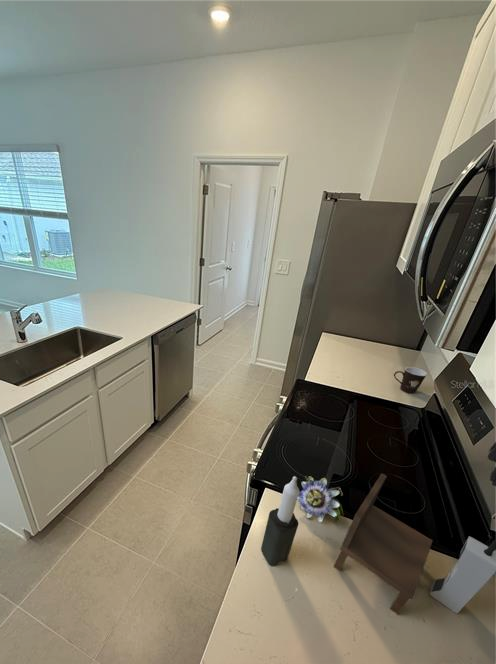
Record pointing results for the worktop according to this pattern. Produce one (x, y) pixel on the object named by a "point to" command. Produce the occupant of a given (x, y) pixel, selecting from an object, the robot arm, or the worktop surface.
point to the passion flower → (319, 499)
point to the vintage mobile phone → (466, 575)
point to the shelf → (386, 548)
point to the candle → (281, 527)
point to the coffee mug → (411, 379)
